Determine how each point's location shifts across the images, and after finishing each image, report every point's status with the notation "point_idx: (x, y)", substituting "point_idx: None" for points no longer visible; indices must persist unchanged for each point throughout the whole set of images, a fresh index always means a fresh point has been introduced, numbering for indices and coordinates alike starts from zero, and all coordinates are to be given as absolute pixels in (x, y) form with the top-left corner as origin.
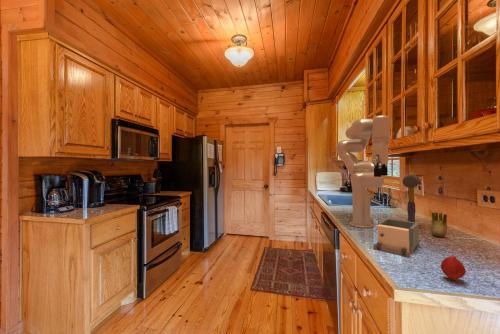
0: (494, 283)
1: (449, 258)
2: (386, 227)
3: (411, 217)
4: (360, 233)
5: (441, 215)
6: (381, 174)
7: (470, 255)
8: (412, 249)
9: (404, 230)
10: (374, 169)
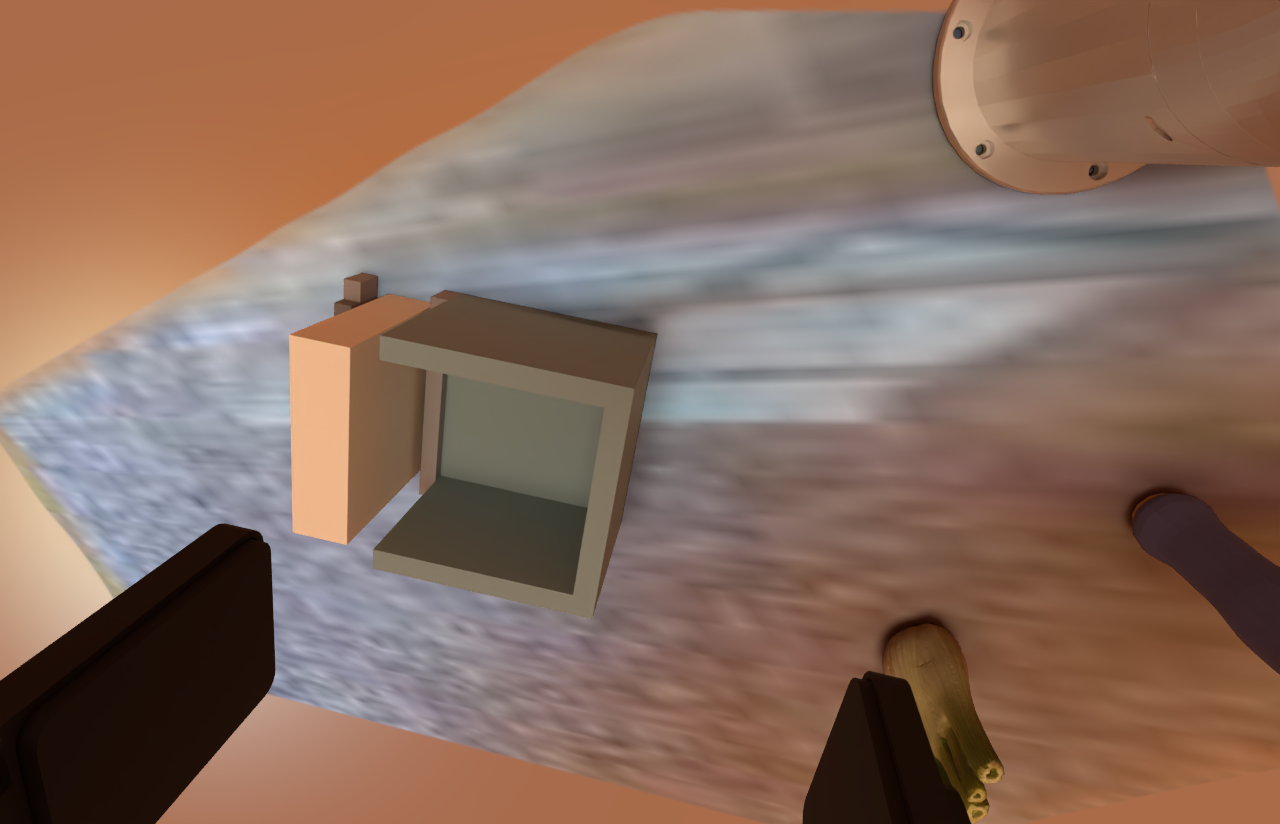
0: (293, 698)
1: None
2: (291, 404)
3: (1192, 569)
4: (710, 112)
5: None
6: (846, 721)
7: (590, 710)
8: (421, 491)
9: (293, 515)
10: (13, 699)
